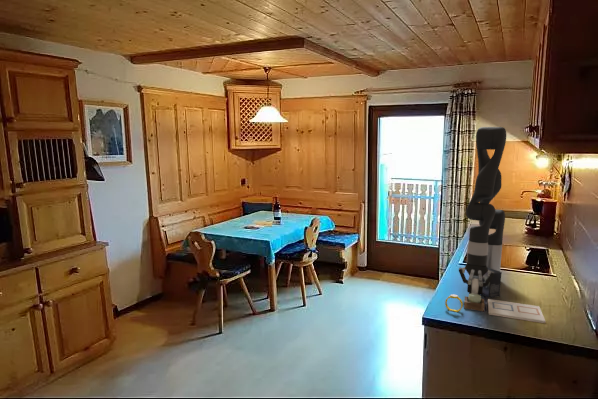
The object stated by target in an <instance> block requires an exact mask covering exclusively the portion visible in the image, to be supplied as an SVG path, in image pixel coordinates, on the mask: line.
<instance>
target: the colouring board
mask: <svg viewBox="0 0 598 399" xmlns="http://www.w3.org/2000/svg"><path fill="white" fill-rule="evenodd" d="M487 308H488V310H487V311H488V315H490V316H496V317H497V316H498V317H504V318H509V319H515V320H521V321H527V322H528V321H529V322H532V323H533V322H534V323H540V324H546V322H547V321H546V319H545V316H544V315H543V314H544V313H543V312H542V309H541V307H540V305H534V304H533V305H532V304H527V303H526V304H525V303H519V302H511V301H505V300H498V299H492V298H488V299H487Z"/></svg>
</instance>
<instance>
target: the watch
mask: <svg viewBox="0 0 598 399" xmlns="http://www.w3.org/2000/svg"><path fill="white" fill-rule="evenodd" d="M449 299H456V300H458V301H459V303H460V308H459V309H454V308H453V309H452V308H450V307H449V306H448V303H447V302H448V300H449ZM444 304H445V307H446V309H447V310H448V311H450V312H456V313H458V312H461V310H462V309H463V308H464V302H463V301H462V299H461V298H460V296H459V295H457V294H454V293H452V294H450V295H449V296H448V297H447V298H446V299H445V301H444Z"/></svg>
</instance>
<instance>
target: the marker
mask: <svg viewBox="0 0 598 399" xmlns="http://www.w3.org/2000/svg"><path fill="white" fill-rule="evenodd" d="M478 293H479V276H473V278H472V282H471V294H478Z"/></svg>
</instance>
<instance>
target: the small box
mask: <svg viewBox="0 0 598 399" xmlns="http://www.w3.org/2000/svg"><path fill="white" fill-rule="evenodd" d="M487 268H488V267H487ZM488 270H489V271H491V272H492V271H493V272H494V276H493V278H492V279H491V281H490V282H489V284H488V285H487V286H483V290H482V294H480V296H481V295H482V296H484V297H486V298H488V299H492V298H498V297H501V282H502V272H503V271H501V270H500V271H497V270H494V269H491V268H488ZM487 274H488V273H486V274H485V275H484V276H483V277H482V281H483V282H485V281H486V279H487V277H488V275H487ZM479 285H480V284H479Z"/></svg>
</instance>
